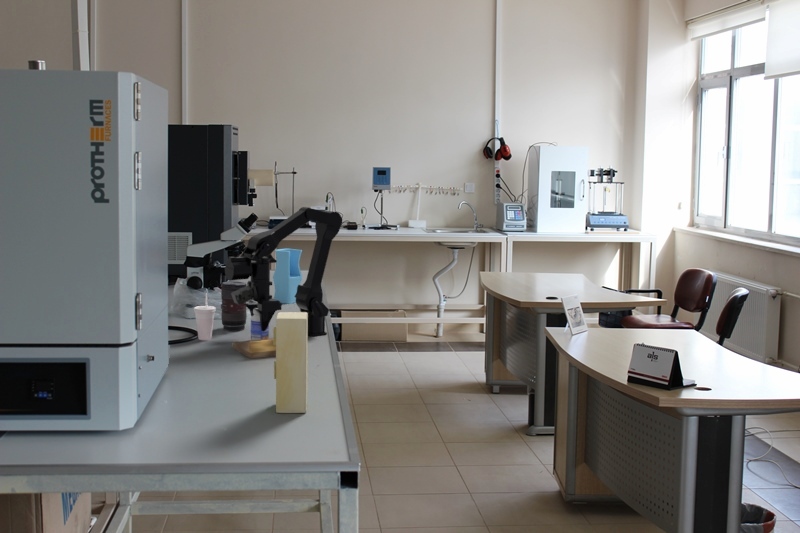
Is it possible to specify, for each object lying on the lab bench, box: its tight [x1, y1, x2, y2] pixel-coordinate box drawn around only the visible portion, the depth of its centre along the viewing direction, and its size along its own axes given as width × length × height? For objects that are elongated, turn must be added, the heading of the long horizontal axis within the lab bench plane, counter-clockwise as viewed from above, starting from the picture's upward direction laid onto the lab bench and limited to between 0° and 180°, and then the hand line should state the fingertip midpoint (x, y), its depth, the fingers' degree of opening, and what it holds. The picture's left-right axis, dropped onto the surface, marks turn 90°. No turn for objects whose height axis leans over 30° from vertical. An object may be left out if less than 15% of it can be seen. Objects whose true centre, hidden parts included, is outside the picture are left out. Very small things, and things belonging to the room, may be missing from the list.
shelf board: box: [232, 338, 276, 359], centre depth 228 cm, size 15×14×4 cm
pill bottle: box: [250, 308, 270, 341], centre depth 240 cm, size 5×5×10 cm
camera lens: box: [220, 281, 248, 332], centre depth 255 cm, size 8×8×15 cm
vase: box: [272, 248, 303, 305], centre depth 306 cm, size 8×8×20 cm
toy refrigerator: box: [272, 311, 309, 414], centre depth 175 cm, size 8×7×21 cm
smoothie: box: [193, 292, 217, 341], centre depth 240 cm, size 6×6×14 cm
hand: (259, 329), depth 240 cm, fingers closed on pill bottle, 5 cm apart
